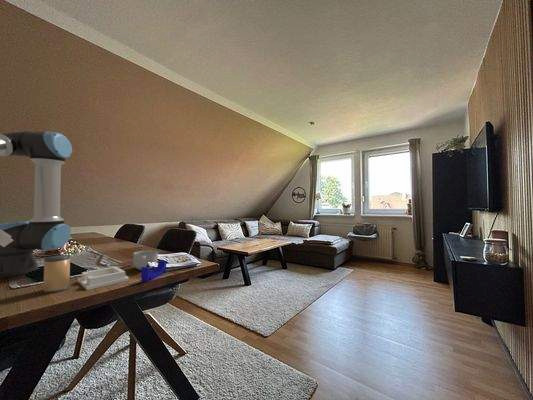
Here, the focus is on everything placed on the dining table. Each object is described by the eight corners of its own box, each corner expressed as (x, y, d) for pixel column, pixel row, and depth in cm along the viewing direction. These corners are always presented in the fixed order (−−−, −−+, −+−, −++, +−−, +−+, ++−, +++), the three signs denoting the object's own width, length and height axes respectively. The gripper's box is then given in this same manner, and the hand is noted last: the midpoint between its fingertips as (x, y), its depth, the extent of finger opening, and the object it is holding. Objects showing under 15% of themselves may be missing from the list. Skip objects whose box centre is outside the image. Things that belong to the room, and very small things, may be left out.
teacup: (138, 265, 116) (138, 250, 116) (160, 264, 118) (160, 249, 118) (126, 274, 102) (126, 256, 102) (151, 273, 104) (152, 255, 104)
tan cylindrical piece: (42, 290, 83) (43, 257, 83) (67, 284, 88) (68, 254, 88) (44, 295, 78) (45, 260, 78) (71, 289, 84) (71, 257, 84)
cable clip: (157, 273, 105) (157, 260, 105) (166, 273, 104) (166, 260, 104) (138, 281, 93) (138, 267, 93) (147, 282, 92) (147, 267, 92)
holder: (77, 281, 92) (78, 272, 92) (117, 273, 102) (117, 265, 103) (86, 290, 83) (87, 280, 83) (128, 280, 94) (129, 271, 94)
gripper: (-79, 203, 69) (-5, 246, 80) (-103, 202, 53) (-6, 256, 64) (-49, 187, 73) (18, 230, 84) (-62, 181, 57) (23, 235, 68)
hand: (8, 241), depth 74 cm, fingers open, 13 cm apart
